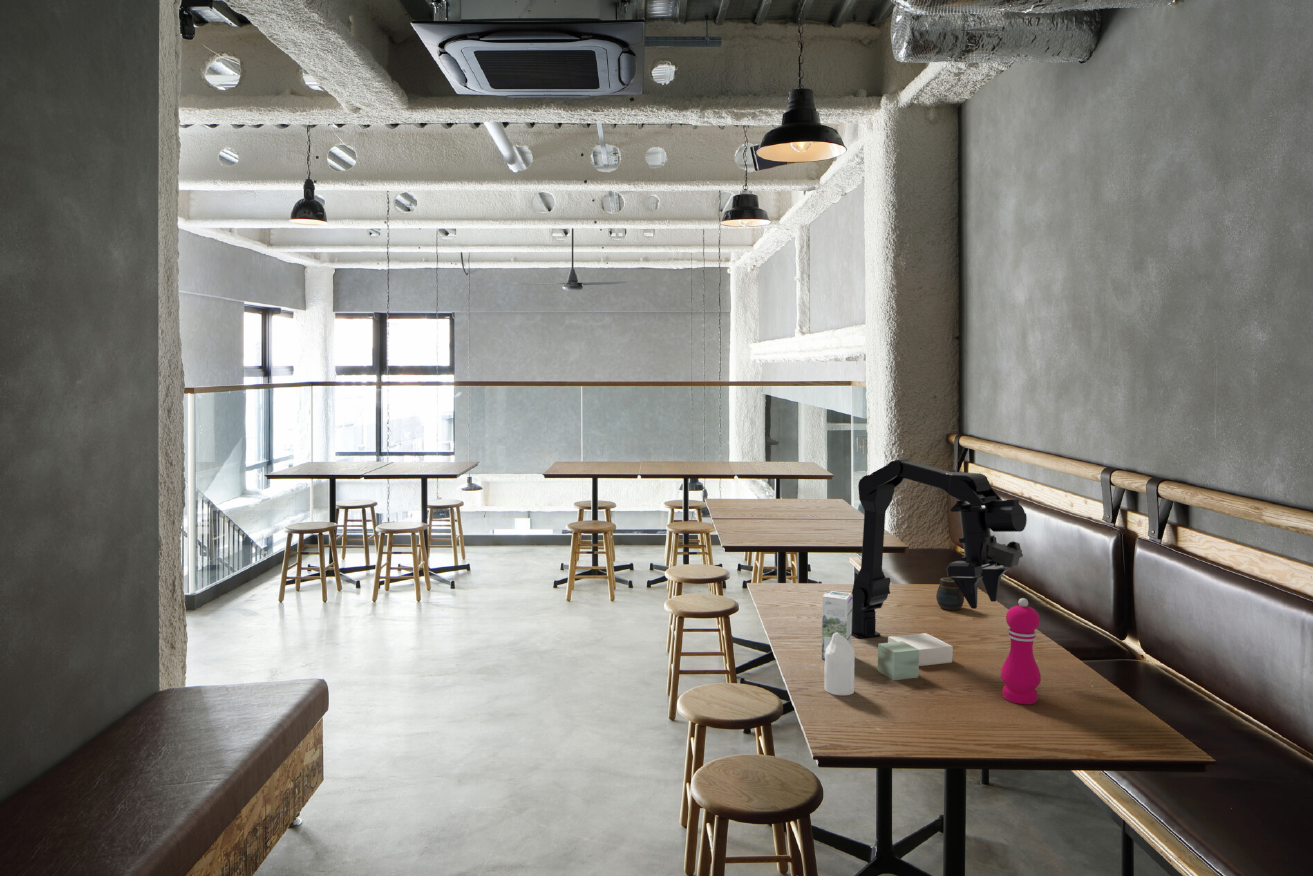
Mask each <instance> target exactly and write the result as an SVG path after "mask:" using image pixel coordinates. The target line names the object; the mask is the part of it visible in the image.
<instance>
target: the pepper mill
mask: <svg viewBox="0 0 1313 876" xmlns="http://www.w3.org/2000/svg"><path fill="white" fill-rule="evenodd" d="M1005 620H1006V624H1007V626H1009V629H1008V635H1007V636H1008V637H1009V638H1010V648H1009V651H1008V655H1007V657H1006V658H1005V660H1004V662H1003V665H1002V668H1001V671H1000V679H1001V681H1002V682H1003V683H1004V686H1003V687H1002V697H1003V698H1004V699H1005V700H1006V701H1008V702H1011V703H1014V704H1018V705H1033V704H1036V703H1037V702H1038V697H1039V696H1038V695H1039V693H1038V691H1037V690H1036V689H1037V688H1038V687H1039V686H1040V685H1041V680H1042V678H1041V672H1040V668H1039V667H1038V664H1037V661H1036V659H1035V656H1034V642H1035V641H1036V640H1037V637H1036V635H1037V632H1036V630H1037V628H1039V626H1040V623H1041V622H1040V615H1039V613H1038V612H1037V611H1036V610H1035V608H1033V607H1030V606H1029V601H1028V599H1027V598H1024V597H1022V598H1019V600H1018V605H1014V606H1012V607H1010V608H1009V609H1008V610H1007V613H1006V616H1005Z"/></svg>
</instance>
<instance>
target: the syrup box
mask: <svg viewBox="0 0 1313 876" xmlns="http://www.w3.org/2000/svg"><path fill="white" fill-rule="evenodd" d="M852 599H853V595H852V592H851V593H850V592H843V591H842V592H841V591H835V590H834V591H833V590H827V591H825V593H823V595H822V601H821V602H822V605H821V606H822V609H821V610H822V611H821V612H822V613H821V615H822V616H821V620H822V621H821V624H822V625H821V655H820V656H821V657H820V658H821V659H822V660H825V651H826V648H827V646H828V645H829V644H830V642H831V640H832V635H833V634H835V633H839V634H840V635H841V636H843V637H844V638H845V639H847V641H848V642H849V643H850V644H851V645H852V635H851V631H852Z"/></svg>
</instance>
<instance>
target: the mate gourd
mask: <svg viewBox="0 0 1313 876" xmlns="http://www.w3.org/2000/svg"><path fill="white" fill-rule="evenodd" d="M935 598H936V601H937V605H938V606H939V607H940V608H941V609H943V610H947V611H956V610H959V609H961V608H962V607H963V605H964V602H965V597H964V595H963V594H962V592H961V591H960V589H959V588H958V586H957V585H956V583H955V582H954V580H951V577H942V578H939V586H938V589H937V591H936V597H935Z"/></svg>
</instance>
